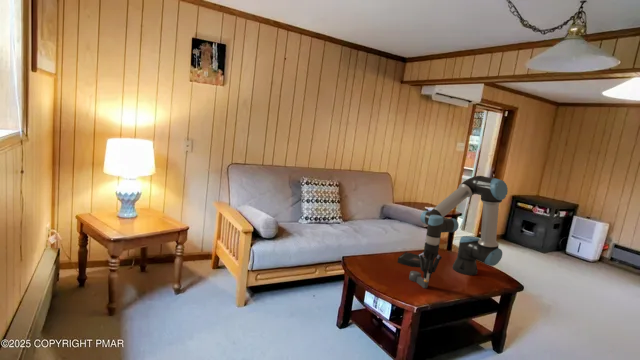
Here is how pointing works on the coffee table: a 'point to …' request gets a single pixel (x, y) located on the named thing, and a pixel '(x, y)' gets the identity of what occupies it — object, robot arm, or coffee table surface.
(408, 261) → the portable cd player
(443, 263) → the coffee table surface
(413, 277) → the dial
